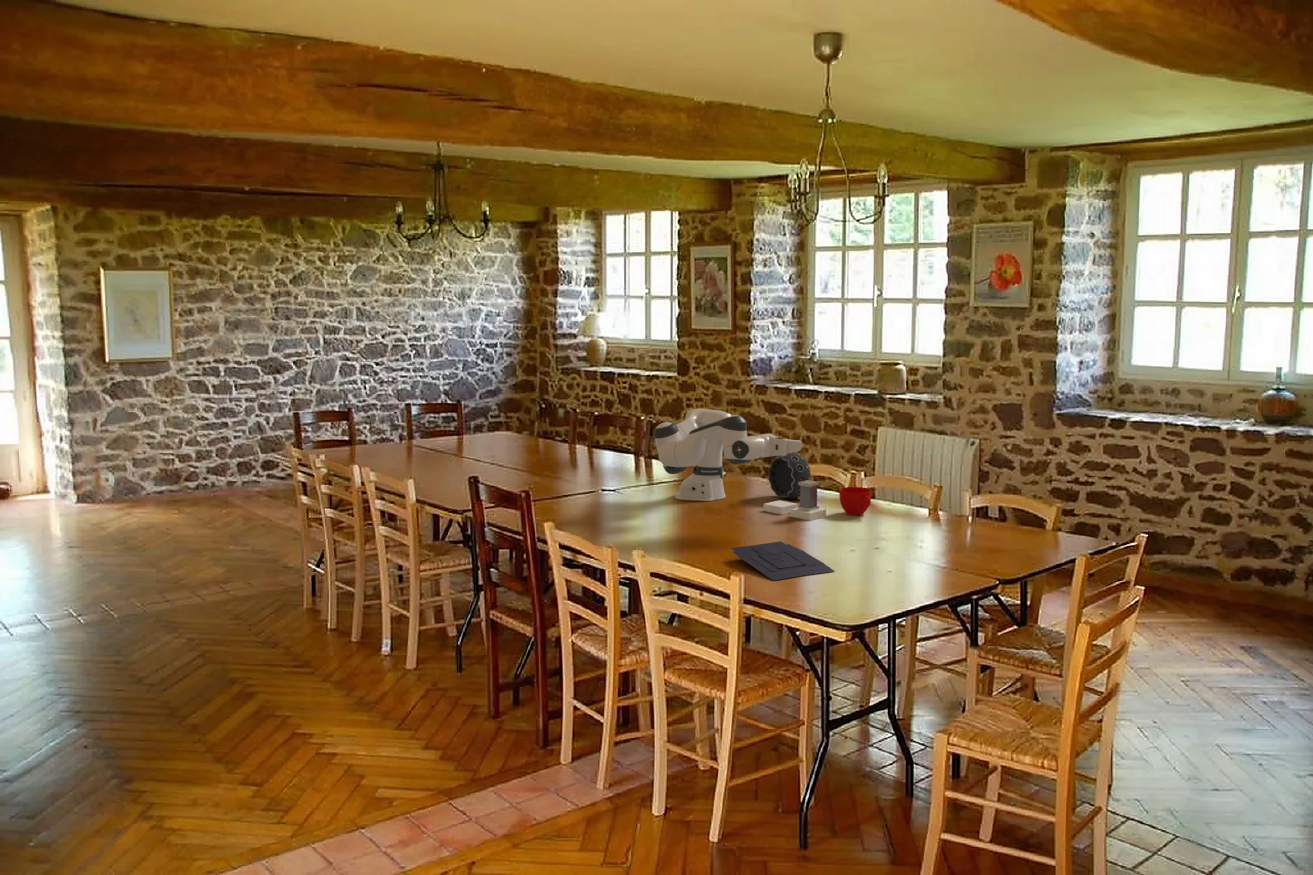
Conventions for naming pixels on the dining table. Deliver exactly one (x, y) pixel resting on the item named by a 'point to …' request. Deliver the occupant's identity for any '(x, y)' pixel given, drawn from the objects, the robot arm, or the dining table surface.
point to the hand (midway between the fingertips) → (790, 441)
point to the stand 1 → (780, 507)
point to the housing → (808, 495)
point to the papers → (780, 560)
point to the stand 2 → (808, 514)
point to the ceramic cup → (855, 500)
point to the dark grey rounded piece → (788, 475)
